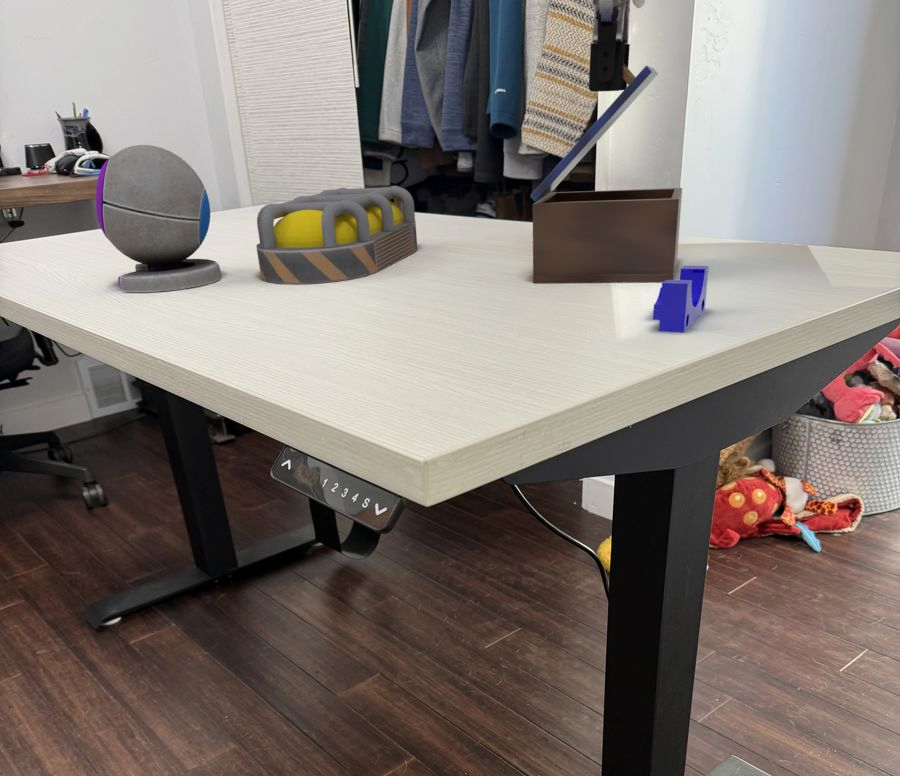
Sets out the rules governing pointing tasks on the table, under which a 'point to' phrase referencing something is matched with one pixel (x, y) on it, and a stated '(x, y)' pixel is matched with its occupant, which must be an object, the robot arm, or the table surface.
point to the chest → (606, 236)
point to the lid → (597, 129)
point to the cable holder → (682, 300)
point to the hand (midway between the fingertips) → (608, 88)
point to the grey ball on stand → (155, 218)
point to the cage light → (335, 235)
